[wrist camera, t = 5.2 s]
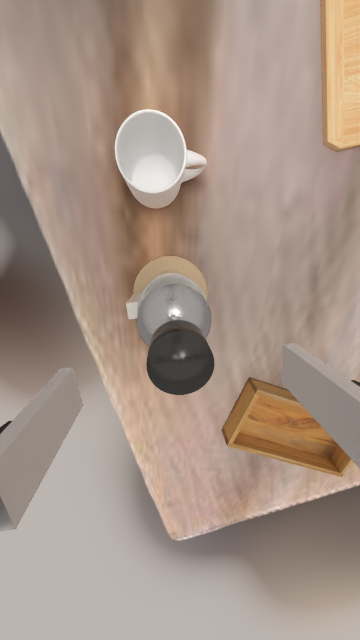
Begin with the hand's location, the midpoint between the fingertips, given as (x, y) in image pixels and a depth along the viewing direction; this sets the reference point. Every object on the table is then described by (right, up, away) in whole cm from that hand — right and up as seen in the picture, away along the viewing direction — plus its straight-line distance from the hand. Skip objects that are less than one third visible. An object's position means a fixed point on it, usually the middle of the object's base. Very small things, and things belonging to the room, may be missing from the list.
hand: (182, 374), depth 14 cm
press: (-2, +9, +28) cm, 30 cm away
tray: (+27, -21, +40) cm, 52 cm away
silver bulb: (-1, +4, +12) cm, 12 cm away
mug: (-3, +27, +23) cm, 35 cm away
